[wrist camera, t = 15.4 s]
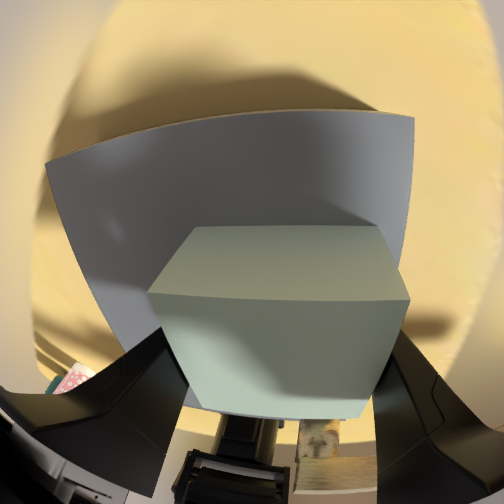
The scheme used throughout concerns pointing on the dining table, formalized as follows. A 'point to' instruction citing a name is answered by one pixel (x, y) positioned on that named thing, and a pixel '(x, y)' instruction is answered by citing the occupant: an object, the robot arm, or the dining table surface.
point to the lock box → (224, 193)
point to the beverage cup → (74, 378)
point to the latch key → (331, 462)
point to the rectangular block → (282, 317)
